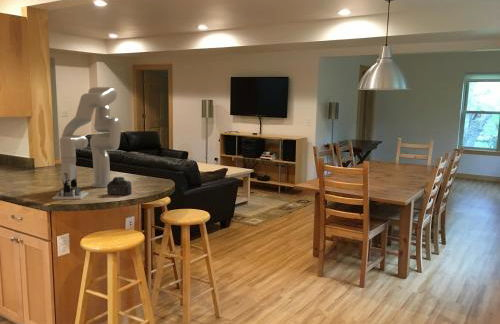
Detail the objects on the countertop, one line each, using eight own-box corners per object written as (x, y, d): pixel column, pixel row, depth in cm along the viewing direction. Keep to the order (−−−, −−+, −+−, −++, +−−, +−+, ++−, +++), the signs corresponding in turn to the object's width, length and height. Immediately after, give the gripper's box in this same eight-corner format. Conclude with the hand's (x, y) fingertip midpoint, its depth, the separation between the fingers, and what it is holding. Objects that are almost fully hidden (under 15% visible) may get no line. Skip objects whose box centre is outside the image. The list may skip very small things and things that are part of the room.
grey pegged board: (61, 194, 234) (61, 186, 233) (88, 193, 235) (88, 186, 234) (52, 199, 222) (51, 191, 222) (80, 199, 223) (80, 190, 222)
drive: (63, 193, 230) (63, 186, 229) (80, 193, 231) (79, 186, 230) (60, 196, 225) (59, 188, 225) (77, 195, 226) (76, 188, 225)
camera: (133, 191, 241) (132, 174, 239) (130, 195, 231) (129, 178, 229) (109, 192, 239) (108, 175, 238) (105, 196, 229) (104, 178, 228)
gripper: (67, 157, 234) (69, 187, 236) (54, 162, 217) (57, 194, 219) (81, 157, 234) (83, 186, 237) (69, 162, 217) (71, 193, 220)
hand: (70, 190), depth 228 cm, fingers open, 9 cm apart
